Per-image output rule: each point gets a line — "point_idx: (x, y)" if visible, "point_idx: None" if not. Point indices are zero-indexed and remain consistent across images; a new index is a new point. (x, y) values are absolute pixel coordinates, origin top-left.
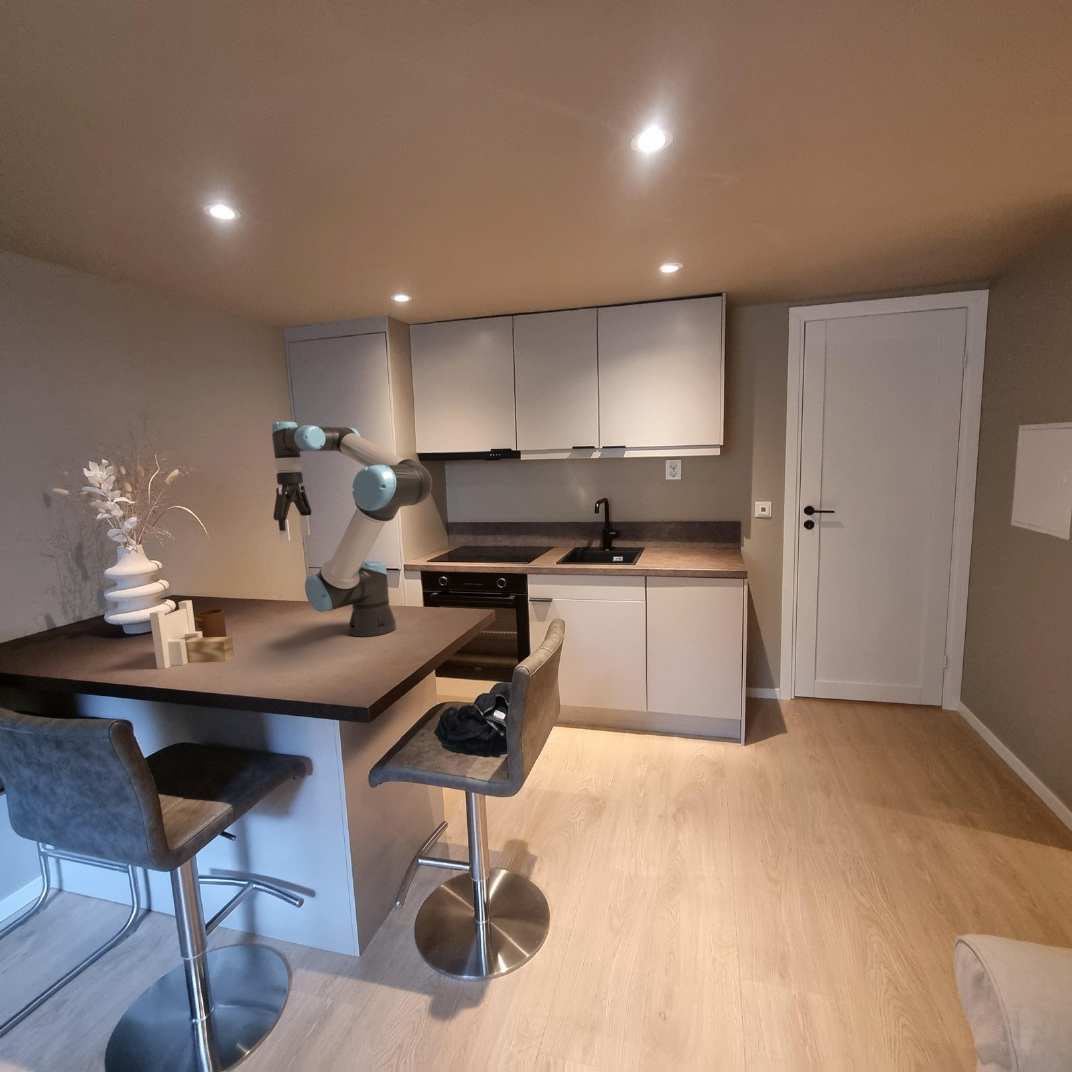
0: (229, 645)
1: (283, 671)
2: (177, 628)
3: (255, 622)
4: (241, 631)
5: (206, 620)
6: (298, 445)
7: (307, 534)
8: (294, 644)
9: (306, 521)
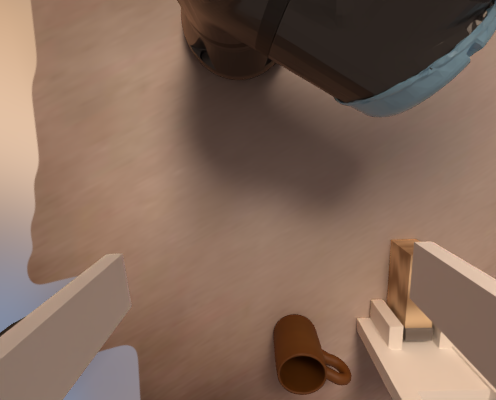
0: (413, 248)
1: (491, 95)
2: (428, 361)
3: (182, 321)
4: (241, 313)
5: (324, 359)
6: None
7: (121, 266)
8: (330, 161)
9: (49, 332)
